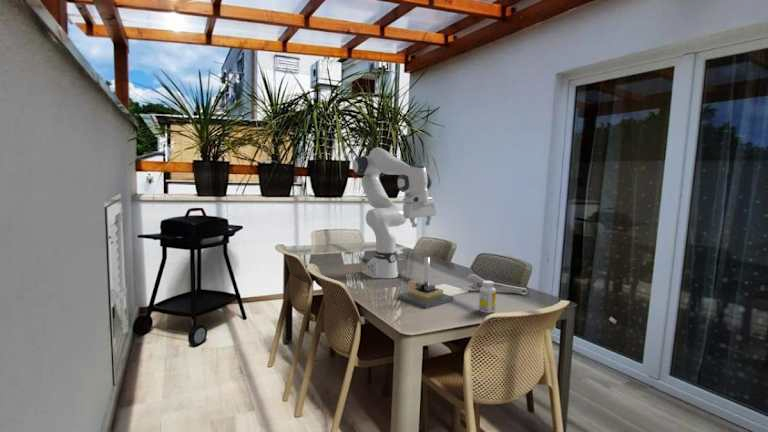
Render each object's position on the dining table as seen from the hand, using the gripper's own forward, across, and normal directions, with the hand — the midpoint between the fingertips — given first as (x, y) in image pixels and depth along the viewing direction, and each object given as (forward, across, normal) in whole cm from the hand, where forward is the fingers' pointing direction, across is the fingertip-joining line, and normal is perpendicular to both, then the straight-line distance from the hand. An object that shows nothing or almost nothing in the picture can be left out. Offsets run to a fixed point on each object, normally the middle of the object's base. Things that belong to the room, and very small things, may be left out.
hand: (421, 226), depth 205 cm
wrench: (+36, -29, +21) cm, 51 cm away
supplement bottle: (+37, -1, +36) cm, 51 cm away
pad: (+34, -9, +5) cm, 35 cm away
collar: (+31, +9, +6) cm, 33 cm away
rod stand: (+34, +9, +8) cm, 36 cm away
